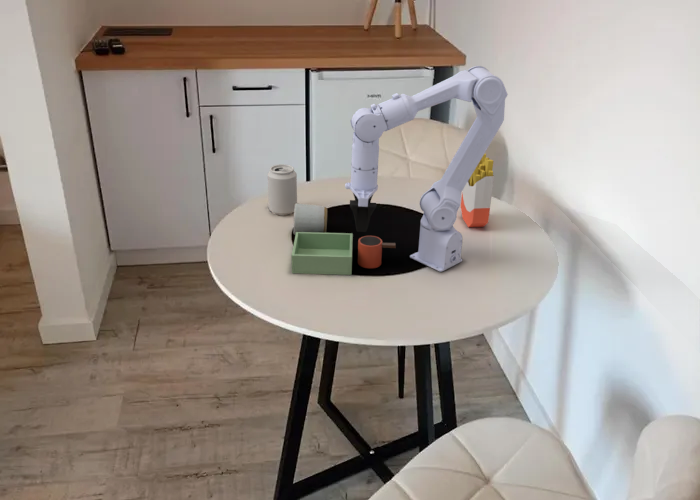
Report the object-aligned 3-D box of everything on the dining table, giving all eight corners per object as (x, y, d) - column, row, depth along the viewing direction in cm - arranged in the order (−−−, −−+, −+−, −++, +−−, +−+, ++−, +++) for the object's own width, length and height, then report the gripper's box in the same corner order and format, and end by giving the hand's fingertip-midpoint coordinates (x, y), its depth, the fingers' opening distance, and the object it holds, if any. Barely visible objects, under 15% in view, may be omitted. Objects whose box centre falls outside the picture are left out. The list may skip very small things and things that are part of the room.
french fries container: (469, 231, 171) (477, 164, 162) (458, 213, 180) (465, 149, 172) (487, 231, 171) (496, 163, 163) (475, 213, 181) (482, 148, 172)
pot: (357, 268, 153) (358, 245, 150) (357, 256, 158) (358, 235, 155) (394, 269, 153) (396, 246, 150) (393, 257, 158) (395, 236, 155)
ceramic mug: (327, 240, 165) (327, 211, 161) (293, 240, 164) (292, 210, 161) (326, 222, 174) (326, 194, 171) (294, 222, 174) (294, 194, 170)
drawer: (352, 250, 160) (352, 233, 158) (351, 275, 150) (352, 257, 148) (296, 248, 160) (296, 231, 158) (291, 273, 150) (291, 255, 148)
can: (281, 202, 184) (280, 160, 179) (302, 209, 180) (302, 167, 175) (262, 211, 179) (261, 168, 173) (284, 218, 175) (283, 175, 169)
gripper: (347, 153, 151) (345, 209, 157) (344, 177, 138) (342, 237, 144) (378, 154, 151) (375, 210, 157) (379, 178, 138) (375, 238, 144)
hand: (361, 223), depth 151 cm, fingers open, 7 cm apart
